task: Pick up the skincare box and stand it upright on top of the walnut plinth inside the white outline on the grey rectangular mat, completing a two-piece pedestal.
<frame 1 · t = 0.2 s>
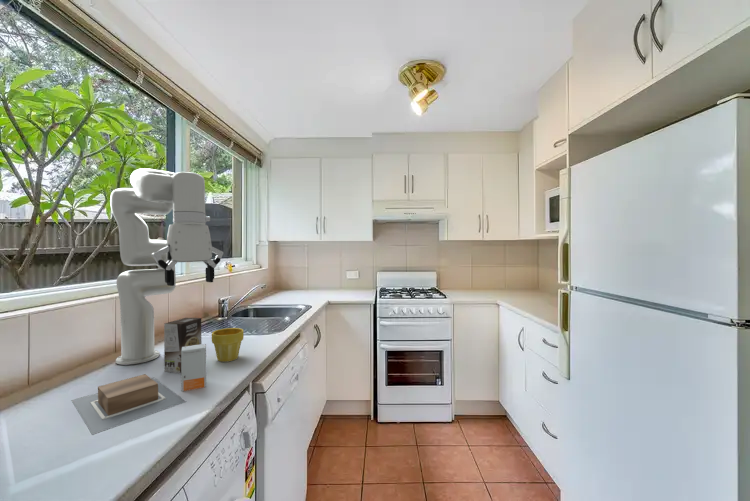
hand: (190, 283, 86), 30 cm above the counter, tool pointing down, fingers open, 9 cm apart
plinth: (128, 400, 81), point 1 cm above the counter, touching grey rectangular mat
grey rectangular mat: (128, 404, 81), on the counter
skincare box: (194, 390, 90), on the counter
plant pot: (228, 359, 114), on the counter
coffee box: (184, 370, 104), on the counter
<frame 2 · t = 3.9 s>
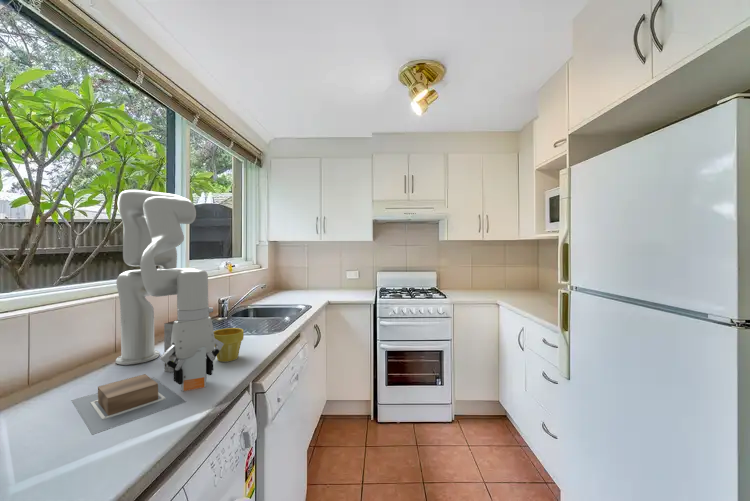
hand: (194, 377, 90), 3 cm above the counter, tool pointing down, fingers closed on skincare box, 7 cm apart
skincare box: (194, 390, 90), on the counter, touching gripper
everything else where it was.
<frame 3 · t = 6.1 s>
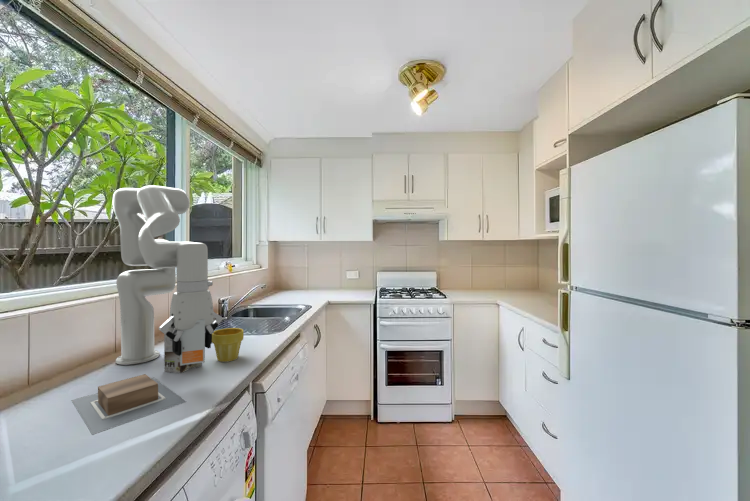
hand: (192, 350, 90), 11 cm above the counter, tool pointing down, fingers closed on skincare box, 7 cm apart
skincare box: (193, 362, 90), point 7 cm above the counter, touching gripper
everything else where it was.
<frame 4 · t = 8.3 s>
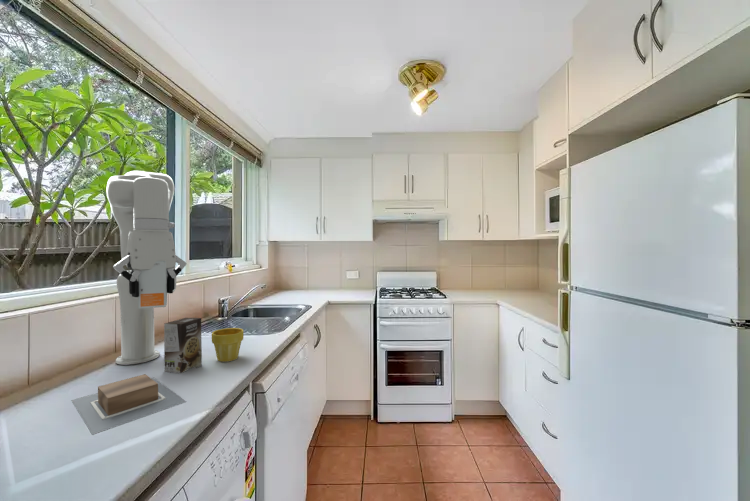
hand: (152, 294, 84), 27 cm above the counter, tool pointing down, fingers closed on skincare box, 7 cm apart
skincare box: (153, 307, 84), point 24 cm above the counter, touching gripper
everything else where it was.
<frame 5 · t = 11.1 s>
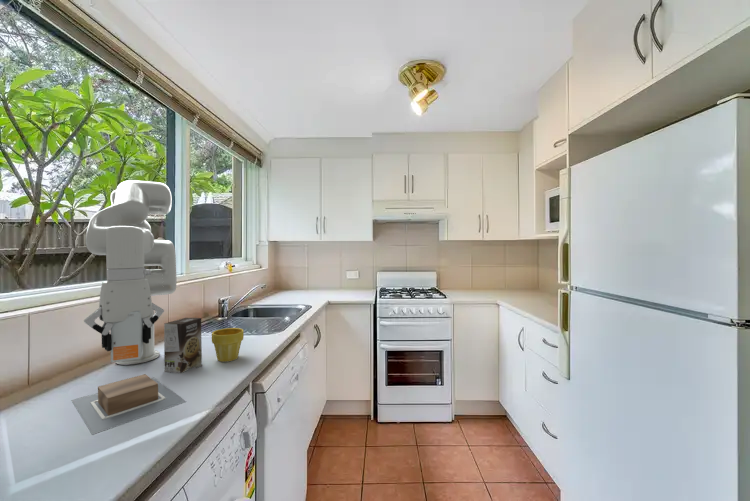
hand: (127, 345, 81), 15 cm above the counter, tool pointing down, fingers closed on skincare box, 7 cm apart
skincare box: (127, 359, 81), point 12 cm above the counter, touching gripper
everything else where it was.
when the fingers open (10 cm above the counter, at t = 13.2 s): skincare box drops 1 cm, resting on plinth.
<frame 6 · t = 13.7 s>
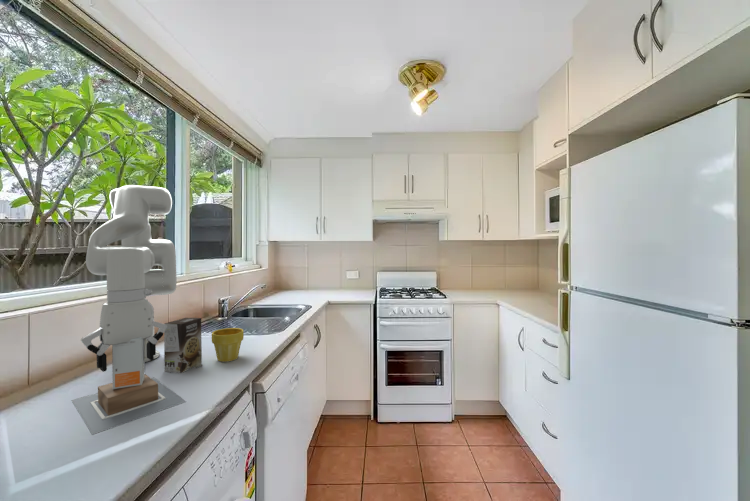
hand: (127, 364, 81), 10 cm above the counter, tool pointing down, fingers open, 9 cm apart
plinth: (128, 400, 81), point 1 cm above the counter, touching grey rectangular mat, skincare box
skincare box: (129, 385, 82), point 5 cm above the counter, touching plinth
everything else where it was.
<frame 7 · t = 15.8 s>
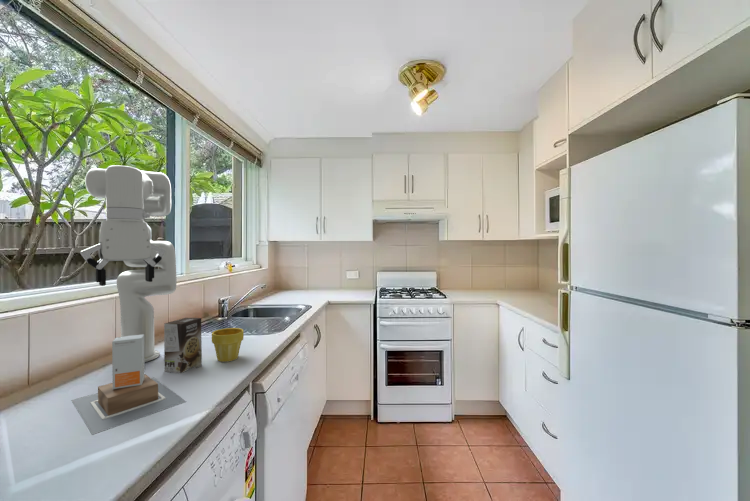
hand: (126, 283, 82), 31 cm above the counter, tool pointing down, fingers open, 9 cm apart
nothing on the counter moved.
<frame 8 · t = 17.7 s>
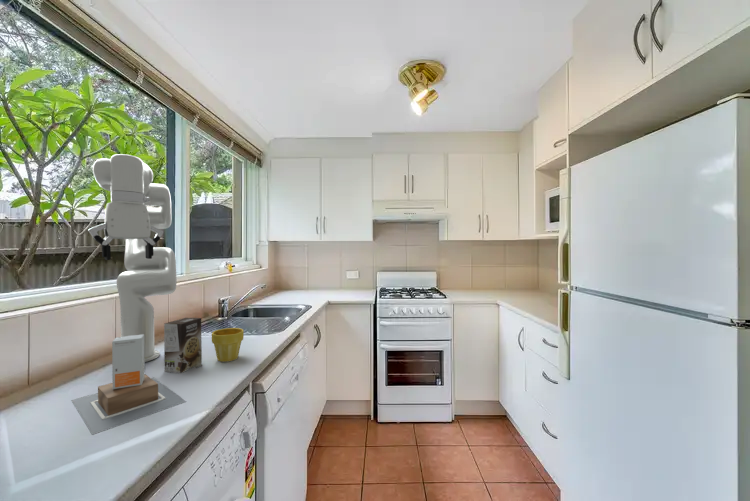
hand: (128, 259, 93), 36 cm above the counter, tool pointing down, fingers open, 9 cm apart
nothing on the counter moved.
at the end: skincare box 0.3 cm off-centre on the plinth, point 3.8 cm above the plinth's base; skincare box tilted 0°; skincare box touching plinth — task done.
